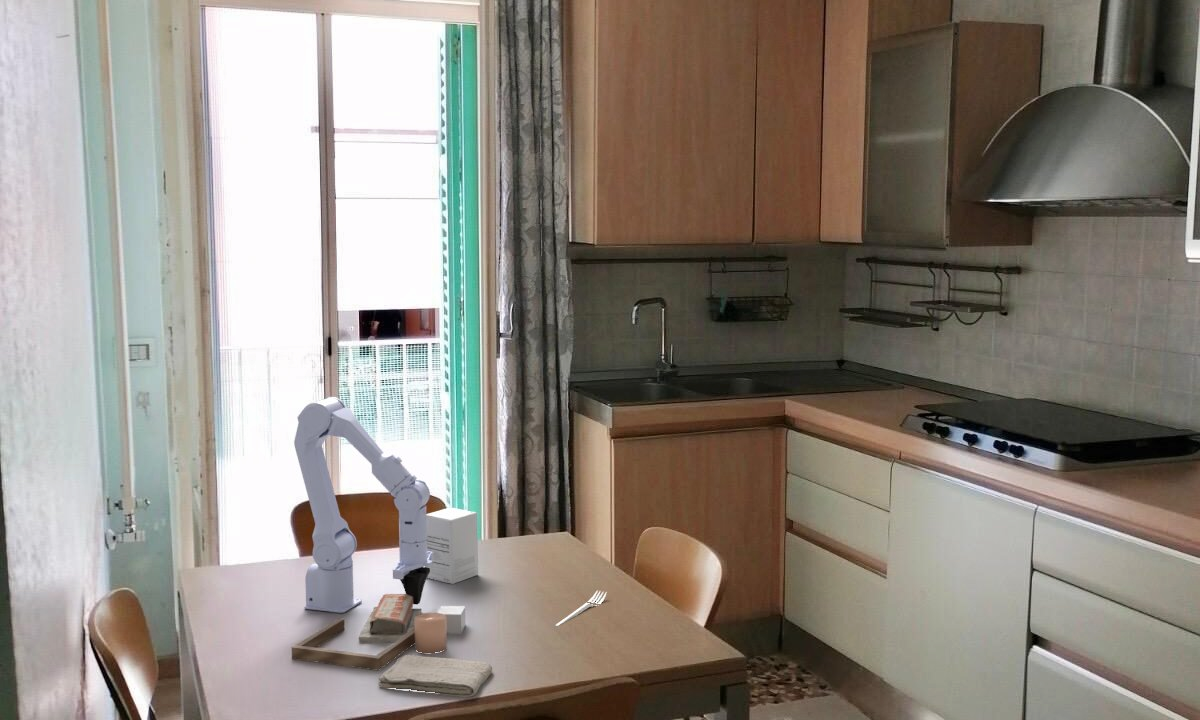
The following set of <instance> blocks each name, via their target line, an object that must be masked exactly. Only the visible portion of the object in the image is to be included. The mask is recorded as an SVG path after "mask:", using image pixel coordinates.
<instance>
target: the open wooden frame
mask: <svg viewBox="0 0 1200 720" xmlns="http://www.w3.org/2000/svg"><path fill="white" fill-rule="evenodd" d="M345 629H346V628H345V619H344V618H338V619H335V620H334V621H332V622H331V623H329V624H328V625H326V626H325V627H322V628H321V629H320V630H318V631H317V632H314V633H313V634H311V635H309V636H308V637H306V638H304V639H303V640H301V641H300V642H298V643H296V644H294V645H293V646H291V660H297V659H299V660H300V661H305V660H309V661H308V662H312V661H318V662H317V663H320V662H324V663H323V664H328V663H331V664H330V665H335V664H338V665H337V666H343V665H345V666H344V667H350V666H354V667H353V668H358V667H361V668H360V669H365V668H369V669H368V670H373V669H377V670H376V671H379V669H380V670H381V669H382V668H384V667H385V666H386V665H387V663H388V662H389V663H391V662H392V661H393V660H395V659H396V658H397V657H398V655H399V654H400V655H401V654H402V652H403V651H404V652H406V651H407V650H408V649H409V647H410V646H411V645H412V646H413V644H414V643H415V628H414V629H412V630H411V631H410V632H408V633H407V634H405V635H404V636H402V637H401V638H400V639H398V640H397V641H395V642H392V643H391V644H389V646H387V647H385V648H384V649H383V650H381V651H380V652H378V653H377V654H376V655H375V654H368V653H360V652H350V651H346V650H345V651H344V650H338V649H337V650H336V649H329V648H320V647H319V645H320V646H322V645H323V644H325V643H326V642H327V640H328V641H329V640H331V639H332V638H334V637H336V636H337V635H339V634H340V633H342V632H344V631H345ZM324 642H325V643H324ZM322 643H323V644H322ZM414 645H415V644H414ZM412 646H411V647H412ZM316 647H317V648H316ZM411 647H410V648H411ZM407 648H408V649H407ZM406 649H407V650H406ZM404 652H403V653H404ZM400 655H399V656H400ZM395 657H396V658H395ZM394 658H395V659H394ZM390 661H391V662H390ZM389 663H388V664H389ZM384 665H385V666H384ZM383 666H384V667H383Z"/></svg>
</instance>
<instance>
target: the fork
mask: <svg viewBox="0 0 1200 720" xmlns="http://www.w3.org/2000/svg"><path fill="white" fill-rule="evenodd" d="M607 594H608V592H607V591H605V593H604V591H601V590H596V591H595V593H594V594H593V596H591V598H589V600H588V601H587V602H591V603H596V604H600V605H601V603H602V602H603V603H604V602H605V599H606V596H607ZM595 601H596V602H595ZM587 602H585V603H584V604H583V605H581V606H580V607H579V608H577V609H576V610H575V611H572V612H571V613H570V614H569V615H567V616H566V617H565V618H563V619H562V620H561V621H559V622H558V623H556V624H555V626H556V627H560V625H562V624H564V623H565V622H567V621H569V620H571V619H573V618H575V617H576V616H578V615H580V614H582V612H584V611H585V610H587V609H588V608H590V607H592V608H594V607H593V606H596V607H598V606H597V605H593V604H590V603H587ZM597 602H598V603H597ZM603 603H602V604H603Z"/></svg>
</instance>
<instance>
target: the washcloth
mask: <svg viewBox="0 0 1200 720" xmlns="http://www.w3.org/2000/svg"><path fill="white" fill-rule="evenodd" d="M395 661H396V662H395V663H394V664H393V665H392V666H391V667H390V668H388V669H387V670H386V671H385V672H384V673H382V675H381V676H379V677H378V680H379V681H380V682H378V687H380V688H382V687H383V688H382V689H386V688H396V689H411V690H417V691H425V692H435V693H440V694H446V695H445V696H452V697H464V698H470V697H474V696H475V695H476V694H477V693H478V691H479V690H480V687H481V686H482V684H483V683H485V682H486V681H487V680H488V678H489V676H490V675H491V674H492V672H493V667H492V665H491V664H490V663H488V662H485V661H477V660H476V661H475V660H466V659H465V660H464V659H460V658H458V659H457V658H445V657H435V656H434V657H431V656H421V655H413V654H412V655H411V654H405V655H403V656H402V657H399V658H397V659H396V660H395ZM409 691H410V690H409Z"/></svg>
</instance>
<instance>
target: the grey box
mask: <svg viewBox="0 0 1200 720" xmlns="http://www.w3.org/2000/svg"><path fill="white" fill-rule="evenodd" d="M436 613H441V614H444V615H445V616H446V627H447V634H462V633H463V631H464V629H465V627H466V625H467V624H466V606H464V605H440V607H439V608H438V609H437V611H436Z"/></svg>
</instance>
